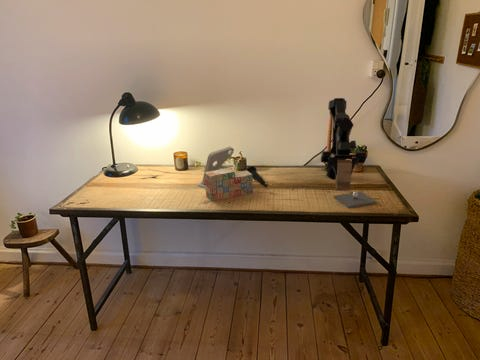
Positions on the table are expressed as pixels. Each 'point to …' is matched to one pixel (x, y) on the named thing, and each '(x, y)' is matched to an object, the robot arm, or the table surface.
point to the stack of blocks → (227, 183)
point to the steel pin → (355, 195)
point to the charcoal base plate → (355, 200)
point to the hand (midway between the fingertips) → (343, 175)
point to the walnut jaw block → (343, 175)
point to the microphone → (256, 175)
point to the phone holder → (220, 158)
